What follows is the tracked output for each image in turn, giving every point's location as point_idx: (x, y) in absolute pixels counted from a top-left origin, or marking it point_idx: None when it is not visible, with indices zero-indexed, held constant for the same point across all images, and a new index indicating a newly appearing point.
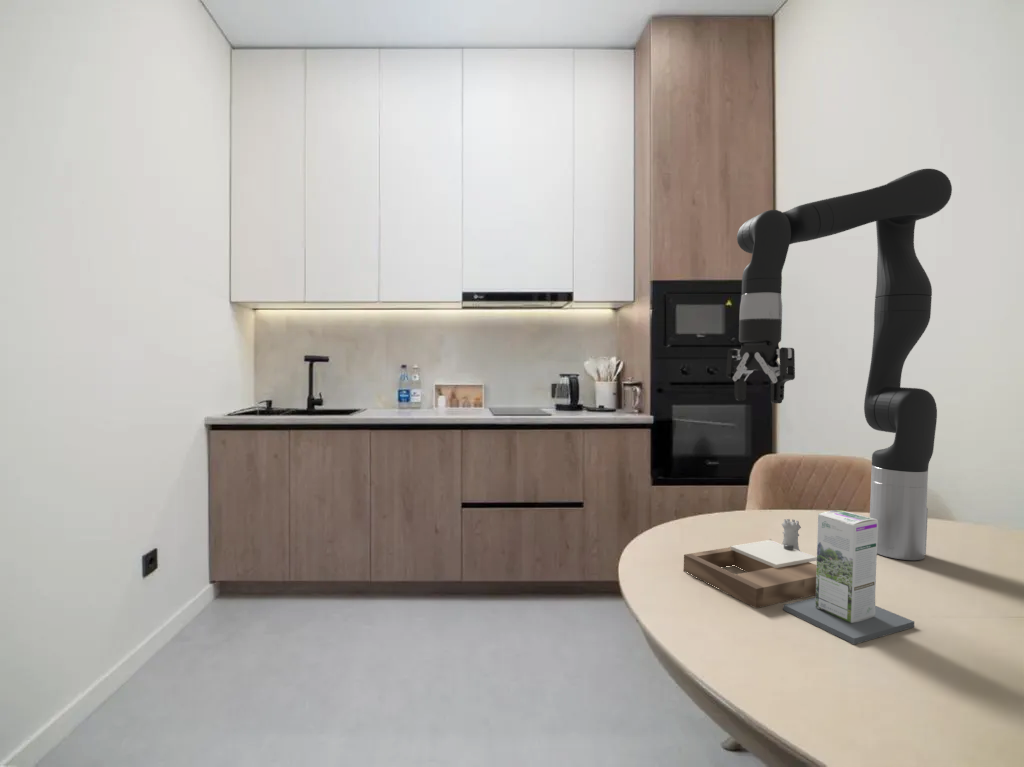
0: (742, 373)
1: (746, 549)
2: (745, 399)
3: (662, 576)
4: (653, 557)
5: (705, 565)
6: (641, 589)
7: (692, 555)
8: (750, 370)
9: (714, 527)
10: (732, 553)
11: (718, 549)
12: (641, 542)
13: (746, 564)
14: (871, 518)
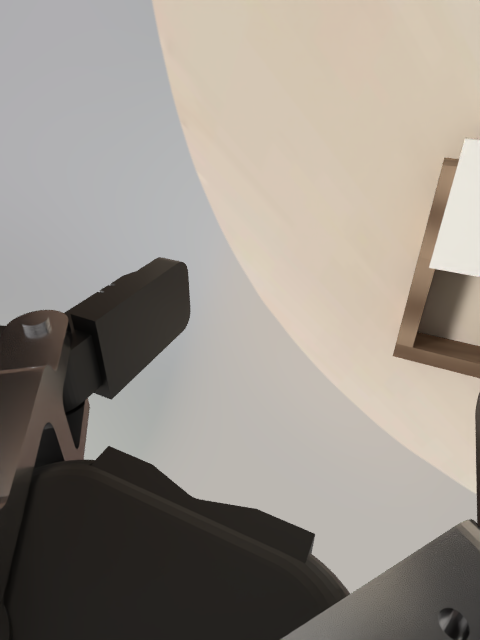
0: (76, 453)
1: (466, 258)
2: (183, 263)
3: (392, 379)
4: (323, 326)
5: (451, 370)
6: (408, 432)
7: (405, 349)
8: (55, 429)
9: (237, 49)
10: None
11: (413, 284)
12: (257, 284)
13: None
14: None
